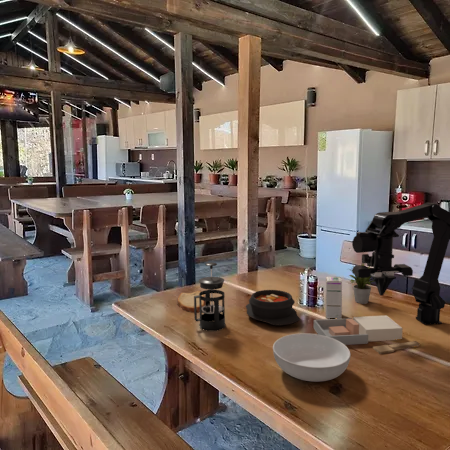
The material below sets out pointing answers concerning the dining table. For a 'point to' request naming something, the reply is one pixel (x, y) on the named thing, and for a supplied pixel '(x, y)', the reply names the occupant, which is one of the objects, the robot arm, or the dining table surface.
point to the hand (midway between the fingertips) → (381, 295)
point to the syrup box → (333, 297)
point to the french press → (212, 310)
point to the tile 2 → (352, 327)
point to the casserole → (272, 307)
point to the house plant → (361, 288)
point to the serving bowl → (311, 356)
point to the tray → (323, 329)
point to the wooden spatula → (394, 347)
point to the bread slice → (189, 301)
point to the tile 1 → (338, 331)
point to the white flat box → (379, 328)
